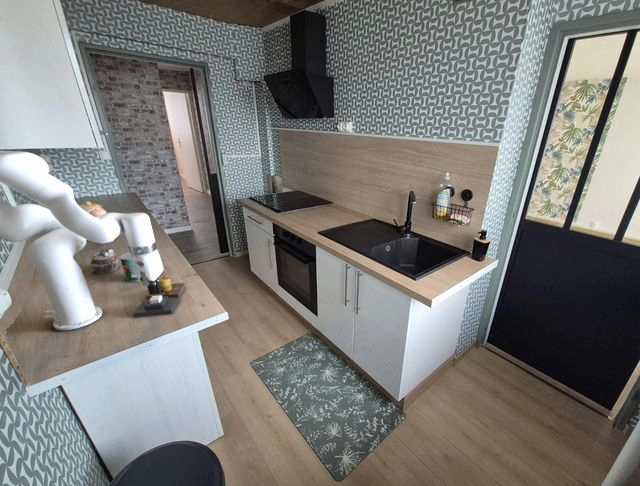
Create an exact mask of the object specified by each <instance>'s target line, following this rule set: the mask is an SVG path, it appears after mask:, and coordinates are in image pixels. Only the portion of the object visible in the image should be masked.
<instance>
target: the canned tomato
mask: <svg viewBox="0 0 640 486" xmlns="http://www.w3.org/2000/svg"><path fill="white" fill-rule="evenodd" d="M119 259H120V262H121V263H120V264H121V266H122V270H123V273H124V277H125V281H127V282H130V283H133V282H140V281H139V280H138V278H137V275H136V271H135V266H134V260H133V256H132V255H131V252H128V253H123V254H122V255H120V256H119Z"/></svg>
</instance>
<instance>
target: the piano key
mask: <svg viewBox="0 0 640 486" xmlns="http://www.w3.org/2000/svg"><path fill="white" fill-rule="evenodd" d="M149 301H150V304H154V303H160V302H161V301H162V295H158V296H152V297H151V299H150V300H149Z"/></svg>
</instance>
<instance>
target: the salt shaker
mask: <svg viewBox="0 0 640 486" xmlns="http://www.w3.org/2000/svg"><path fill="white" fill-rule="evenodd" d="M106 213H107V211H106V210H105V209H104V210H102V209H98V208H96V209H95V210H92V211H90V213H89V214H90V215H92V216H94V217H96V218H98V217H100V216H102V215H103V214H106ZM114 241H115V239H114V240H113V241H111V242H110V243H112V242H114Z"/></svg>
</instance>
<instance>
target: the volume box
mask: <svg viewBox="0 0 640 486" xmlns="http://www.w3.org/2000/svg"><path fill="white" fill-rule="evenodd" d="M171 285H172V289H171V290H170V291H167V292H162V291H161V292H160V293H159V294H153V295H150V294H149V293H148V294H147V295H146V296H145V297H146V300H149V299H150V297H152V296H158V295H162V296H168V298H174V297H179V300H180V298H181V297H182V295H183V293H184V292H185V290H186V288H187V287H186V283H185V282H182V283H181V282H179V283H171Z"/></svg>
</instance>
